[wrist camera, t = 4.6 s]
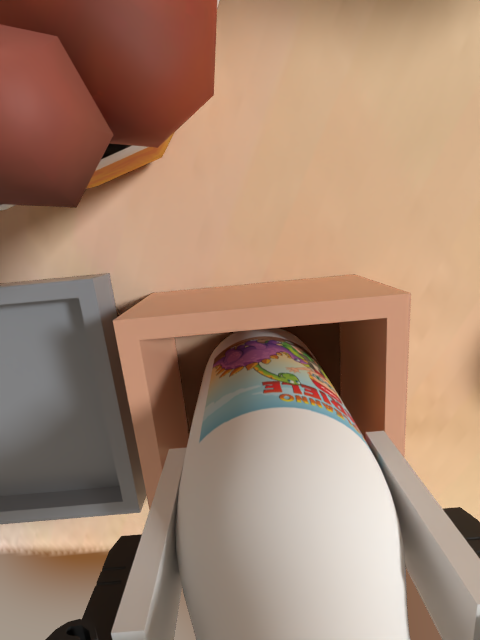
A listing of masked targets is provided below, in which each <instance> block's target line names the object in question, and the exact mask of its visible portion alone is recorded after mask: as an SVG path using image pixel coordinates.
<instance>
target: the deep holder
mask: <svg viewBox="0 0 480 640" xmlns="http://www.w3.org/2000/svg"><path fill="white" fill-rule="evenodd" d="M410 304H411V293H409V292H406V291H403V290H400V289H397V288H394V287H391V286H388V285H385V284H382V283H379V282H376V281H373V280H370V279H367V278H364V277H361V276H358V275H355V274H354V275H343V276H332V277H321V278H310V279H299V280H289V281H278V282H267V283H256V284H245V285H234V286H224V287H213V288H202V289H191V290H180V291H169V292H159V293H152V294H150V295H149V296H147V297H146V298H144V299H143V300H142V301H140V302H139V303H137V304H136V305H134V306H133V307H132V308H130V309H129V310H127V311H126V312H124V313H123V314H121V315H120V316H119V317H117V318H116V319H114V320H113V325H114V330H115V335H116V340H117V345H118V350H119V356H120V361H121V366H122V371H123V376H124V381H125V386H126V391H127V397H128V402H129V407H130V412H131V417H132V422H133V427H134V433H135V438H136V443H137V448H138V453H139V458H140V463H141V468H142V474H143V479H144V484H145V489H146V494H147V499H148V504H149V510H150V508H151V505H152V501H153V498H154V495H155V492H156V489H157V486H158V482H159V479H160V476H161V473H162V470H163V467H164V464H165V460H166V457H167V454H168V451H169V449H175V448H187V444H188V439H189V432H188V425H187V418H186V412H185V405H184V398H183V391H182V385H181V378H180V371H179V364H178V358H177V351H176V344H175V337H180V336H191V335H202V334H213V333H224V332H235V331H246V330H257V329H268V328H280V327H291V326H302V325H313V324H324V323H335V322H340V377H341V400H342V402H343V403H344V405H345V407H346V408H347V410H348V412H349V413H350V415H351V417H352V418H353V420H354V422H355V423H356V425H357V427H358V428H359V430H360V432H361V433H362V435H363V437H364V439H365V433H366V432H374V431H384V432H385V433H386V434H387V436H388V437H389V438H390V440H391V441H392V442H393V444H394V445H395V446H396V448H397V449H398V450H399V452H400V453H401V454H402V456H403V457H404V454H405V429H406V404H407V379H408V354H409V329H410Z"/></svg>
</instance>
